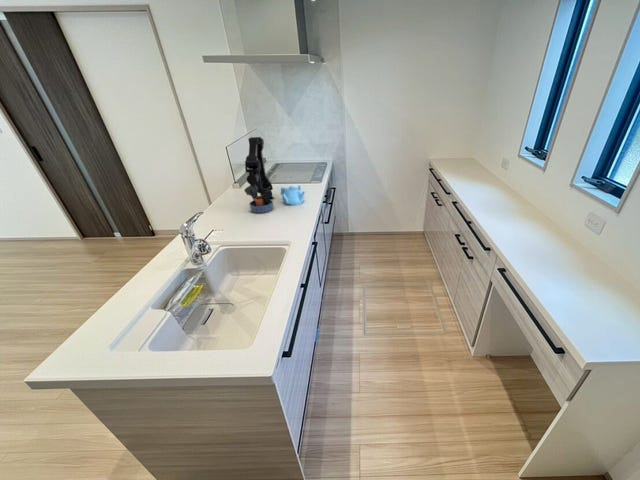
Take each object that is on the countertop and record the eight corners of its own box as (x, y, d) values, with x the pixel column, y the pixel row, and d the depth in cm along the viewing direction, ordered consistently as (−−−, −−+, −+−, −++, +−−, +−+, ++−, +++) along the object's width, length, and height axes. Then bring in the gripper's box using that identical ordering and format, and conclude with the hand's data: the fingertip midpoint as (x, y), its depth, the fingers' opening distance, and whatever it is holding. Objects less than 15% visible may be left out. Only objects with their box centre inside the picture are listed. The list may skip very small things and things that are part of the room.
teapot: (303, 197, 218) (301, 182, 212) (307, 204, 206) (305, 188, 200) (281, 200, 213) (278, 184, 208) (283, 207, 202) (281, 191, 196)
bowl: (270, 204, 206) (268, 197, 204) (276, 210, 196) (275, 203, 194) (248, 208, 200) (247, 201, 198) (254, 215, 190) (252, 208, 188)
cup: (265, 206, 202) (263, 195, 198) (268, 209, 197) (266, 197, 193) (255, 208, 199) (253, 196, 195) (258, 211, 194) (255, 199, 190)
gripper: (235, 181, 187) (241, 205, 195) (255, 185, 178) (261, 211, 187) (250, 176, 194) (255, 200, 203) (270, 181, 186) (275, 205, 194)
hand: (261, 204), depth 197 cm, fingers open, 9 cm apart
